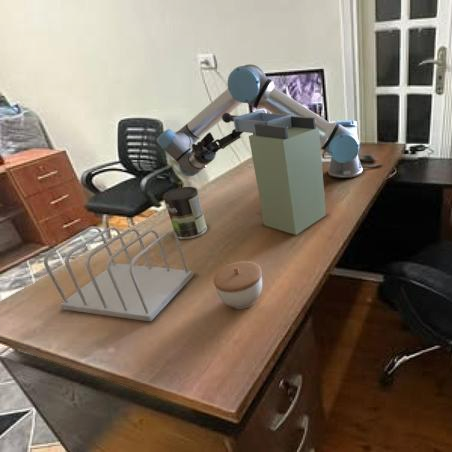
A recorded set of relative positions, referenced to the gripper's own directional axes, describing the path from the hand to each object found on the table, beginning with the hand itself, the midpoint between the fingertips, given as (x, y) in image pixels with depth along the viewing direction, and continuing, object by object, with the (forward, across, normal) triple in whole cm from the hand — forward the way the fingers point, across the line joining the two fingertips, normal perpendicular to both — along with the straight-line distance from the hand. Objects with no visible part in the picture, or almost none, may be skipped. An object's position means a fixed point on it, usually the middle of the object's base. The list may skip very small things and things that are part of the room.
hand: (227, 131), depth 121 cm
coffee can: (-13, +24, -25) cm, 37 cm away
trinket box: (+24, +38, -46) cm, 65 cm away
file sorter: (0, +51, -32) cm, 61 cm away
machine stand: (+10, 0, -38) cm, 39 cm away
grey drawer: (+12, 0, -4) cm, 13 cm away
